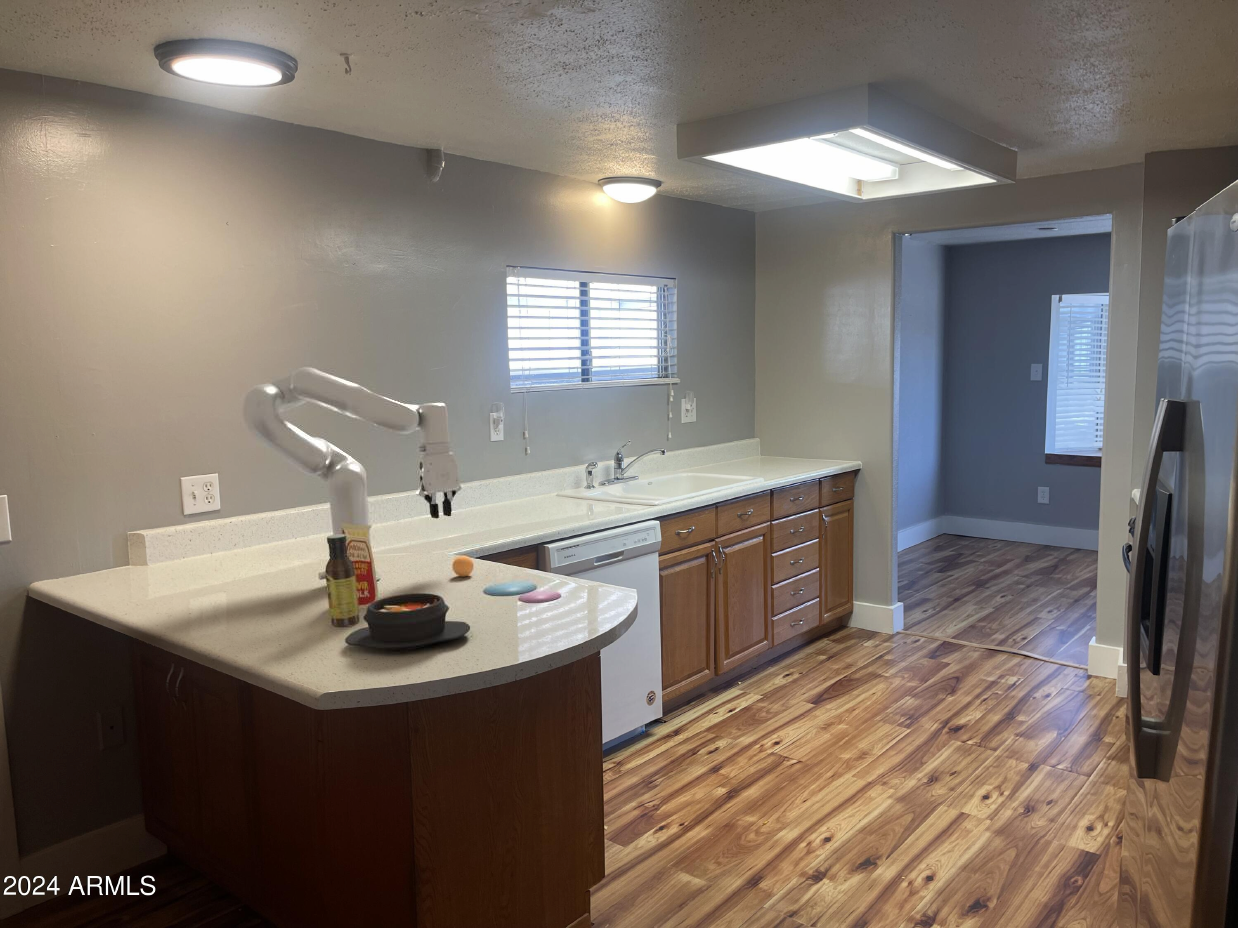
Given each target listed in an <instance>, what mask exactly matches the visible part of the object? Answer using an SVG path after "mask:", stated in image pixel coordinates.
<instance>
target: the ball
mask: <svg viewBox="0 0 1238 928" xmlns="http://www.w3.org/2000/svg"><path fill="white" fill-rule="evenodd" d="M451 568H452V571H453V573H454V574H455V575H456V576H458V577H468V576H470V574H472V572H473V571H474V561H473V560H472V559H471V558H470V557H469V556H467V555H459V556H457V557H456V558H455V559H454V560H453V562H452V567H451Z"/></svg>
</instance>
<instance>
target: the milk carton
mask: <svg viewBox="0 0 1238 928" xmlns="http://www.w3.org/2000/svg"><path fill="white" fill-rule="evenodd" d="M341 524H342V534H345V535H346V539H347V541H346V548H347V556H348V557H349V558H350V560H351V561H352V562H353V564H354V572H355V576H356V586H357V596H358V605H359V608H362V609H366V608H368V606H369V605H370V604H371V603H373V602H375V601H377V600H379V589H378V588H379V586H378V582H377V581H378V580H377V579H376V572H377V571H376V566H375V559H374V556H373V549H372V550H371V545H370V540H369V530H370V531H371V528H372V527H373V525H371V524H370V525H361V526H357V525H350V524H344V523H341Z"/></svg>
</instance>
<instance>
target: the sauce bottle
mask: <svg viewBox="0 0 1238 928" xmlns="http://www.w3.org/2000/svg"><path fill="white" fill-rule="evenodd" d="M326 541H327V542H326V543H327V544H328V550H329V551H328V556H329V560H328V561H327V563H326V564H325V571H324V572H325V575H326V579H325V584H326V592H327V602H328V609H329V610H328V612H329V617H330V623H331V625H332V627H333V626H334V627H337V628H345V627H344V626H346V627H350V626H349V625H352V626H354V624H355V625H356V624H359V623H360V609H359V605H358V596H357V586H356V576H355V572H354V564H353V562H352V561H351V560H350V558H349V557H348V556H347V548H346V541H347V539H346V535H345V534H336V535H333V534H331V535H328V536H327V537H326Z"/></svg>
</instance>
